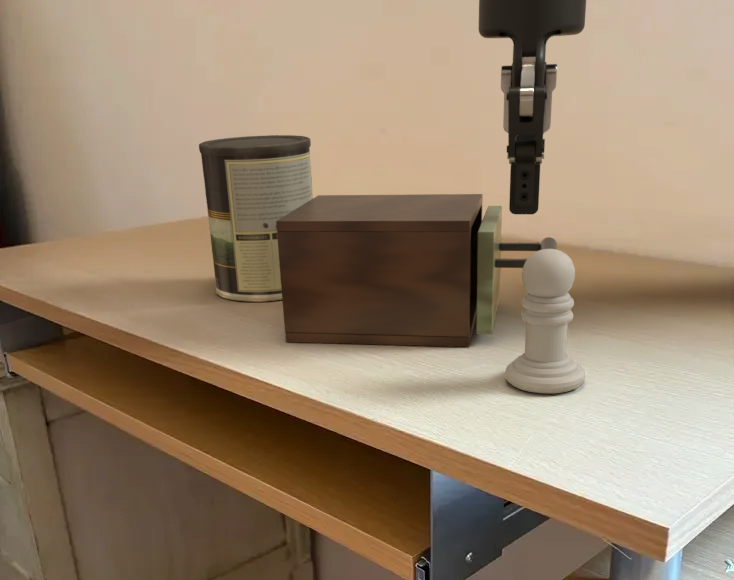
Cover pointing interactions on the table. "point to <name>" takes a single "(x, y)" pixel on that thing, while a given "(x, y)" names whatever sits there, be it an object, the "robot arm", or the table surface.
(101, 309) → the table surface
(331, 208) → the cabinet
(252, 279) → the coffee can
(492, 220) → the drawer
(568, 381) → the chess piece
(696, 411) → the table surface
